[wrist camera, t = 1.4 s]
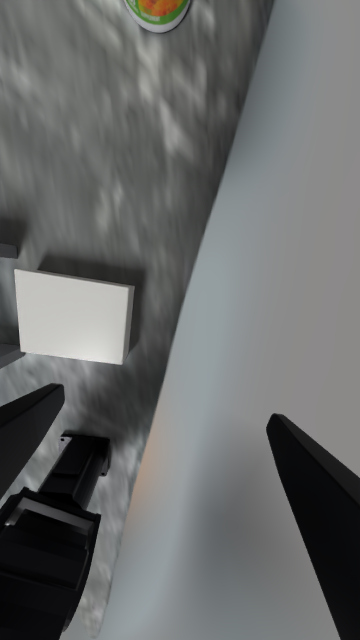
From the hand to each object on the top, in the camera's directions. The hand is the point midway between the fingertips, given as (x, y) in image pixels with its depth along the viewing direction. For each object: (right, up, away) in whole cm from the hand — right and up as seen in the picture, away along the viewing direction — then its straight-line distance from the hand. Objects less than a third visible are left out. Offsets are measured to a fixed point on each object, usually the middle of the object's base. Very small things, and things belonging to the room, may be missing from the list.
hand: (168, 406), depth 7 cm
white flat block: (-10, +4, +12) cm, 16 cm away
